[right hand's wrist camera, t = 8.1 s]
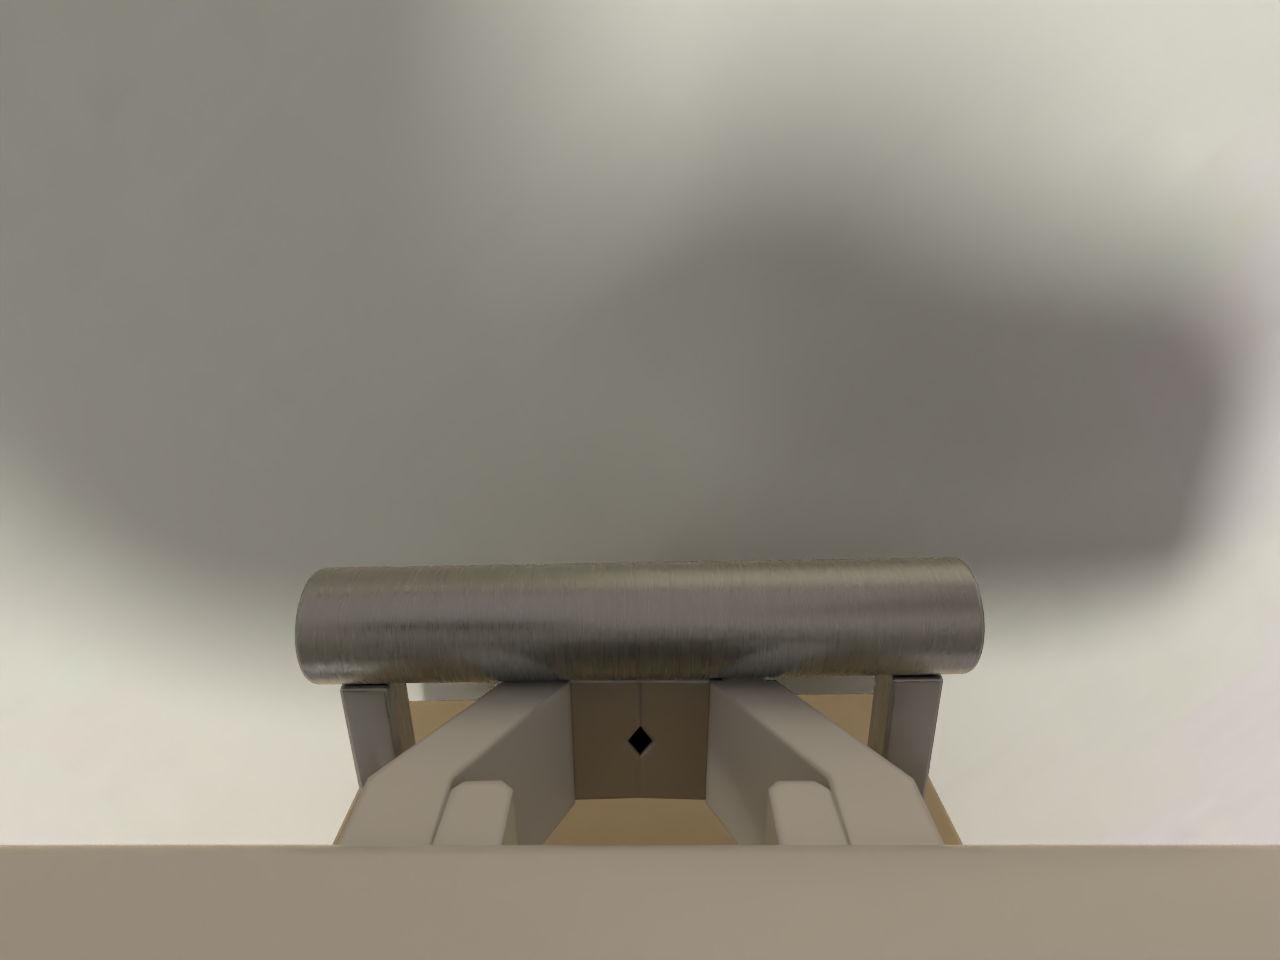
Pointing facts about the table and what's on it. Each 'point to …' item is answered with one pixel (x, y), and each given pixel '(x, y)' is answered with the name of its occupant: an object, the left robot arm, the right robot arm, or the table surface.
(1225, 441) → the table surface
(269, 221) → the table surface
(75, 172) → the table surface
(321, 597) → the drawer
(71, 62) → the table surface
